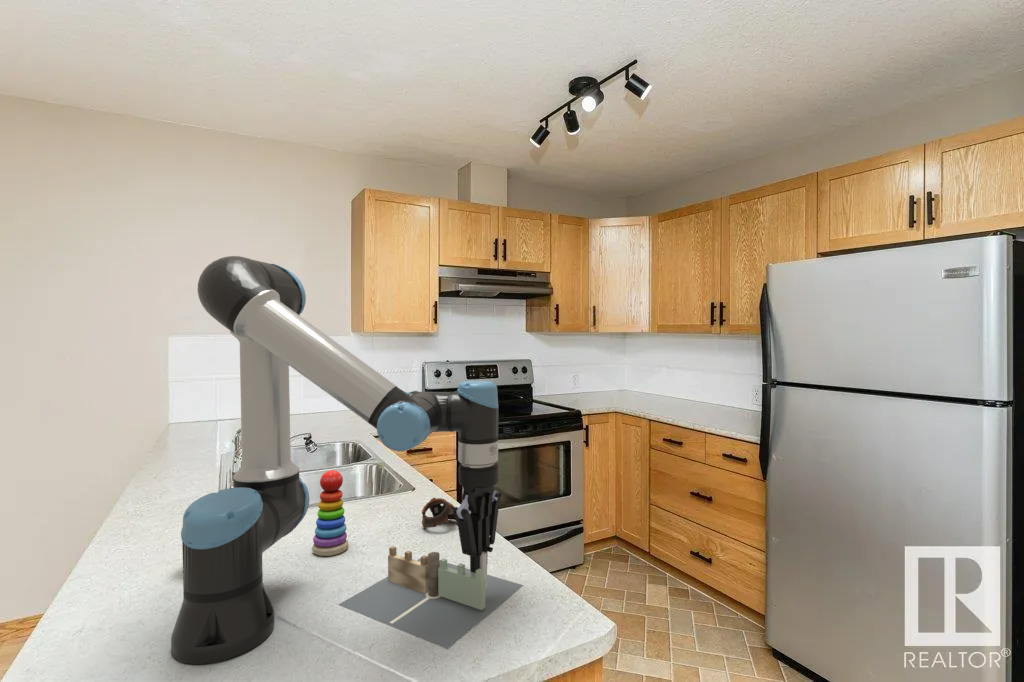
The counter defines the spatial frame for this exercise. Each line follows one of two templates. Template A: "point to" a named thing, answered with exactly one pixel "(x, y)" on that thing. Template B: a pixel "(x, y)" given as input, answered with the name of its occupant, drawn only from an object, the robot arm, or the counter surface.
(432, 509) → the brown jagged ring
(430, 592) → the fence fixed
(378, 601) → the board
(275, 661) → the counter surface
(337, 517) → the stacking toy
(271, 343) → the robot arm
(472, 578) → the folding panel
